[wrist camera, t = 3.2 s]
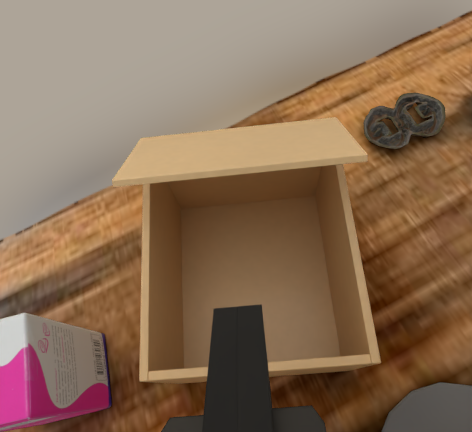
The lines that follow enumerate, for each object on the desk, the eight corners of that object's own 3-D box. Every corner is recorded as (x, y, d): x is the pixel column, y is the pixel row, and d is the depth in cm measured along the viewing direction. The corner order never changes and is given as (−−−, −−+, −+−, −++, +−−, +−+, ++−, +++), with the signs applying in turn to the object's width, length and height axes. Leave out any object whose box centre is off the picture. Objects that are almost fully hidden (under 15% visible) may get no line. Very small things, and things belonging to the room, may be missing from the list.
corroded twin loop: (350, 122, 40) (351, 115, 39) (423, 90, 41) (427, 83, 40) (377, 163, 38) (380, 157, 37) (454, 129, 39) (459, 123, 38)
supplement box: (35, 350, 34) (-71, 333, 24) (105, 332, 34) (30, 307, 24) (38, 427, 32) (-79, 446, 21) (113, 408, 32) (34, 418, 22)
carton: (176, 207, 38) (143, 145, 28) (319, 193, 37) (335, 124, 28) (179, 383, 32) (139, 381, 23) (348, 370, 32) (381, 362, 22)
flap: (142, 143, 28) (140, 137, 28) (336, 123, 27) (336, 116, 27) (113, 187, 21) (111, 180, 21) (367, 162, 21) (368, 154, 21)
